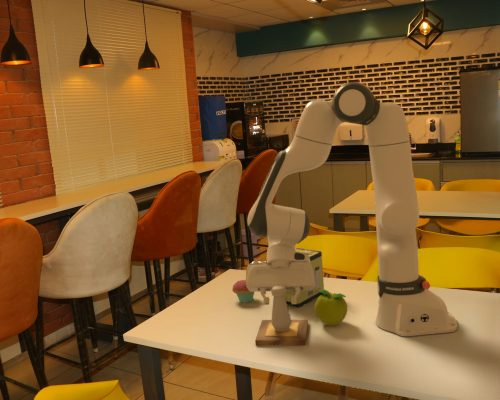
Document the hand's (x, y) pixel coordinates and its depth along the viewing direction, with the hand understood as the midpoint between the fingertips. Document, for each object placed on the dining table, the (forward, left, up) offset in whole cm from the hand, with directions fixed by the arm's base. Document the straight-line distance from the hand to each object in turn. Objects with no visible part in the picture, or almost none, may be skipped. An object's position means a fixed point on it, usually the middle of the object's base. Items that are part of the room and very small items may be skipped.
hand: (280, 303), depth 147 cm
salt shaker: (0, 0, -8) cm, 8 cm away
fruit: (-14, -8, -10) cm, 19 cm away
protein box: (-3, -30, -10) cm, 31 cm away
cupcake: (+16, -29, -10) cm, 34 cm away
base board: (0, -1, -10) cm, 10 cm away
